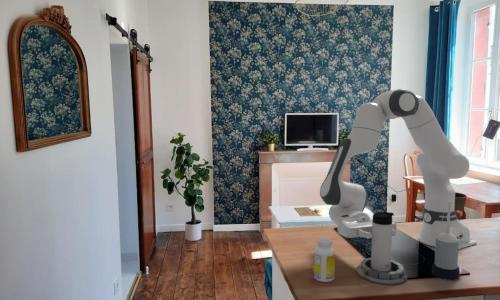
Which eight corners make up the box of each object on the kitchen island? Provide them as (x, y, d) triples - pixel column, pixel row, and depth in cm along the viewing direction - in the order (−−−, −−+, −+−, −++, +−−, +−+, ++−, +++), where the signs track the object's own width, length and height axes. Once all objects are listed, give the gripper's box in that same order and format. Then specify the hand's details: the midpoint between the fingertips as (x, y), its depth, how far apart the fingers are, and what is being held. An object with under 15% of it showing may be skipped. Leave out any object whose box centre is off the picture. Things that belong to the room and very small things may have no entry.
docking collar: (386, 262, 135) (386, 254, 135) (418, 280, 120) (418, 271, 119) (347, 267, 130) (347, 259, 130) (376, 287, 115) (376, 278, 115)
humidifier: (463, 281, 120) (467, 205, 117) (436, 279, 121) (439, 204, 118) (454, 270, 128) (457, 199, 125) (428, 268, 129) (431, 198, 126)
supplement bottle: (335, 275, 124) (336, 238, 123) (333, 284, 118) (334, 244, 116) (315, 272, 126) (316, 236, 125) (312, 281, 120) (312, 242, 118)
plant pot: (430, 230, 172) (431, 196, 170) (428, 221, 185) (429, 190, 184) (467, 234, 166) (469, 199, 164) (462, 224, 180) (464, 192, 178)
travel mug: (392, 275, 121) (395, 215, 119) (371, 273, 123) (373, 214, 121) (390, 267, 127) (392, 210, 126) (369, 266, 129) (371, 209, 127)
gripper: (381, 228, 140) (407, 240, 127) (333, 234, 134) (355, 247, 121) (382, 212, 140) (408, 222, 126) (334, 217, 133) (356, 228, 120)
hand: (382, 234), depth 124 cm, fingers open, 8 cm apart
